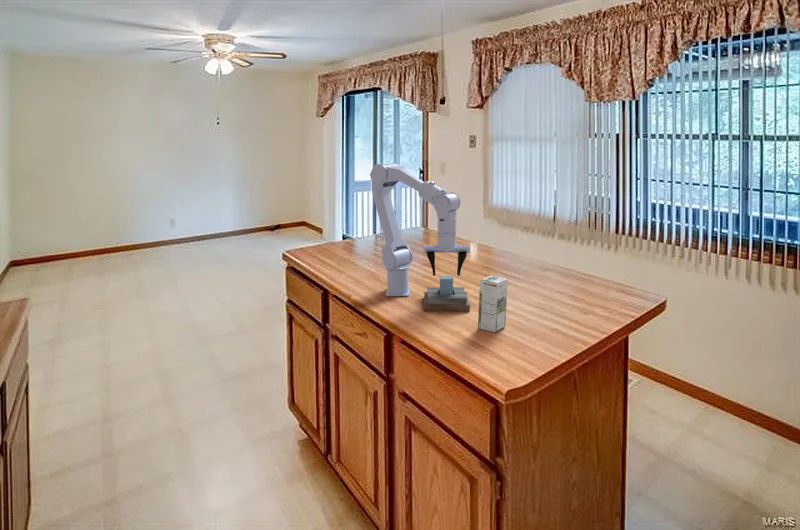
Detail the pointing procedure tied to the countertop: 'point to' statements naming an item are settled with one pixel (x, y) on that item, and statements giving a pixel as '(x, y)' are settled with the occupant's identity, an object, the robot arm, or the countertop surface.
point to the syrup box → (492, 303)
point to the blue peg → (446, 285)
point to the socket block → (446, 300)
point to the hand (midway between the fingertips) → (446, 274)
